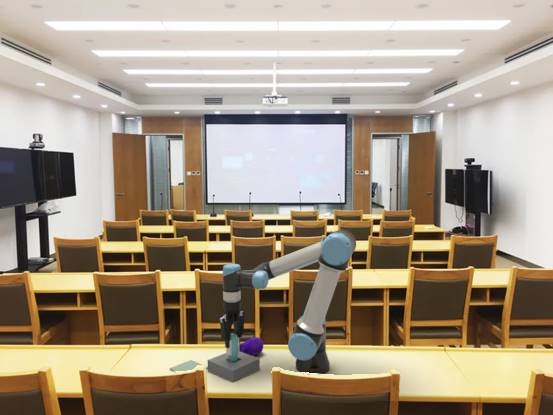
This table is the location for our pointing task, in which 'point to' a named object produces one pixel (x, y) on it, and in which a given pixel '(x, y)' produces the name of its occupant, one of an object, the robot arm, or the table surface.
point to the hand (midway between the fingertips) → (232, 352)
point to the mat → (186, 366)
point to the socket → (233, 366)
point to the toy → (252, 346)
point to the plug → (233, 349)
